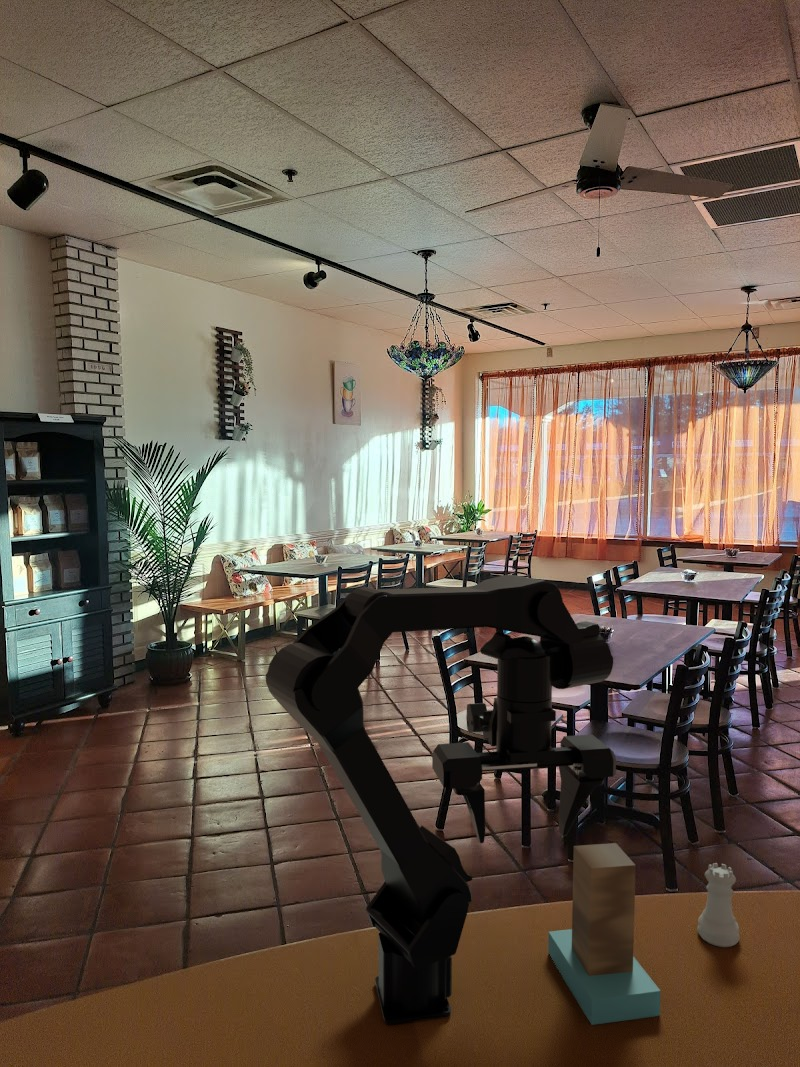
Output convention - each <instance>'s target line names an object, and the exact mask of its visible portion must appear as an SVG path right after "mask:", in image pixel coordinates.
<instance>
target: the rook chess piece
mask: <svg viewBox="0 0 800 1067" xmlns="http://www.w3.org/2000/svg"><path fill="white" fill-rule="evenodd" d="M707 868H708V869H706V871H705V872H704V878H706V880H707V881H708V884H707V885H706V886H705V888H706V891H707V898H706V904H705V908H704V909H703V910H702V913H701V914H700V915H699V917H698V919H697V923H698V926H697V927H696V928H697V933H698V934H699V936H700V937H701V938H702V939H703V940H704V941H705V942H707V943H708V944H710V945H713V946H714V947H719V948H732V947H734V946H735V945H737V943H738V942H739V941H740V940H741V938H740V934H739V932H740V927H739V923H738V922H737V921H736V917H735V916H734V914H733V904H732V896H733V894H734V890H733V889H732V887H733V885H735V883H736V882H737V878H736V876H735V875H734V873H733V868H732V867H731V866H729V867H727V865H726V864H724V863H721V866H720V867H719V864H718V863H717V862H715V863H712V864H710V863H709V864H708V867H707Z"/></svg>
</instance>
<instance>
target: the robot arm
mask: <svg viewBox="0 0 800 1067" xmlns="http://www.w3.org/2000/svg"><path fill="white" fill-rule="evenodd" d="M563 599H564V598H563V596H562V593H561V591H560V589H559V588H558V585H557V583H554V582H553V581H549V580H543V579H538V578H533V577H526V576H521V575H515V574H505V575H504V574H503V575H501V576H496V577H491V578H488V579H484V580H482V581H480V582H478V583H477V584H474V585H471V586H461V587H460V586H459V587H454V586H453V587H420V588H419V587H418V588H414V587H413V588H411V587H410V588H383V589H382V588H380V589H379V588H378V589H377V588H376V589H375V588H371V587H368V586H363V587H357V588H356V589H353V590H352V591H351V592H350V593H348V594H347V595H346V597H345V598H344V599H343V600H341V602H340V603H339V604H338V605H336V607H335V608H334V609H333V610H330V611H329V612H328V613H326V614H325V615H323V616H322V617H320V618H319V619H318V620H317V621H315V622H314V623H312V624H310V625H309V626H308V627H307V628H306V629H304V631H303V632H302V633H301V634H300V635H299V636H298V637H297V638H296V639H295V640H294V641H293V642H292V643H289V644H287V645H286V646H284V647H282V648H281V649H279V650H278V652H276V654H274V655H273V657H272V659H271V661H270V662H269V665H268V668H267V672H266V674H265V684H266V686H267V688H268V692H269V693H270V694H271V696H272V697H273V698H274V699H275V700H276V702H278V703H279V705H280V706H281V707H282V708H283V709H284V710H285V712H286V713H287V714H288V715H289V716H290V717H291V718H292V719H293V720H294V721H295V722H296V723H297V724H299V726H300V727H301V728H302V729H303V730H304V731H306V732H307V733H308V735H309V736H310V737H311V738H313V740H314V741H315V742H316V743H317V745H318V746H319V747H320V749H321V751H322V753H323V755H324V756H325V758H326V760H328V763H329V764H330V766H331V768H332V770H333V772H334V773H335V775H336V777H337V779H338V780H339V782H340V783H341V786H343V789H344V790H345V792H346V794H347V796H348V797H349V799H350V800H351V802H352V804H353V806H354V807H355V809H356V810H357V813H358V815H359V816H360V817H361V820H362V821H363V822H364V825H365V826H366V827H367V829H368V831H369V833H370V835H371V836H372V838H373V840H374V841H375V844H376V845H377V847H378V848H379V851H380V853H381V855H380V856H381V864H380V865H381V867H380V868H381V874H382V875H383V878H384V882H383V884H382V885H381V887H380V888H379V889H378V891H377V892H376V893H375V895H374V896H373V898H372V899H371V901H370V902H369V903H368V904H367V906H366V908H365V912H366V914H367V917H368V919H369V922H370V925H371V926H372V927H373V928H376V930H377V931H378V932H379V933H378V976H376V977H375V979H374V981H375V982H374V983H375V987H376V993H377V997H378V1001H379V1005H380V1008H381V1013H382V1014H381V1016H382V1019H383V1021H384V1022H383V1023H385V1024H387V1025H394V1024H400V1023H409V1022H417V1021H418V1022H419V1021H426V1020H432V1019H441V1018H448V1017H450V1016H451V1014H452V1013H451V1012H452V1008H451V1005H450V1002H449V1000H448V999H449V998H451V996H452V985H453V984H452V983H453V982H452V979H453V977H452V976H453V974H452V973H453V971H452V969H453V968H452V967H453V965H452V964H453V963H452V961H453V958H452V957H453V956H454V955H456V953H457V950H458V948H459V943H460V940H461V936H462V933H463V930H464V925H465V922H466V919H467V915H468V912H469V906H470V903H471V902H472V901H473V896H472V895H473V893H472V890H471V887H470V885H469V883H468V882H472V880H473V877H472V876H471V875H470V874H469V873H467V872H466V870H465V869H464V867H463V865H462V862H461V858H460V855H459V854H458V852H457V850H456V848H455V847H453V845H451V844H450V843H448V842H447V841H446V840H443V839H442V838H441V837H439V836H438V835H437V834H435V833H433V832H432V831H431V830H430V829H428V828H426V827H425V826H424V825H421V826H419V824H418V822H417V820H416V819H415V817H414V815H413V814H412V812H411V811H412V810H410V808H409V806H408V804H407V802H406V800H405V799H404V797H403V795H402V794H401V792H400V790H399V788H398V786H397V784H396V783H395V780H394V779H393V777H392V776H391V774H390V772H389V770H388V768H387V766H386V765H385V763H384V761H383V758H381V756H380V754H379V752H378V750H377V748H376V747H375V745H374V743H373V741H372V740H371V737H370V736H369V733H368V732H367V730H366V728H365V724H364V721H365V719H364V718H365V717H364V715H365V714H364V701H363V698H362V695H361V692H360V689H359V687H360V686H361V685H362V684H363V683H364V681H365V680H366V679H367V678H368V677H369V676H370V675H371V673H372V672H373V671H374V668H375V666H376V663H377V660H378V658H379V655H380V654H381V651H382V648H383V647H384V644H385V642H386V641H387V640H388V639H389V637H391V635H392V634H393V633H405V632H406V633H407V632H422V631H423V632H424V631H440V630H458V629H470V628H473V629H475V628H490V629H495V630H496V629H497V630H501V631H507V632H512V633H517V634H522V635H523V636H518V637H511V635H509V634H505V633H502V632H498V631H496V632H494V634H493V636H492V637H491V639H489V640H488V641H487V642H485V643H484V644H483V645H482V647H481V648H480V649H479V650H480V651H479V652H480V654H482V655H484V656H487V657H491V658H493V659H496V660H497V670H496V671H497V678H496V680H497V683H496V684H497V686H496V689H497V690H496V697H494V700H493V703H492V704H493V705H492V710H488V709H487V704H486V703H484V702H480V703H479V702H478V703H467V704H466V717H465V718H466V729H467V732H468V733H482V737H483V738H482V740H483V741H488V744H489V745H490V747H496V749H495V750H496V751H484V752H482V751H481V752H477V751H476V750H475V749H474V748H473V746H472V745H471V744H470V742H469V741H468V742H453V743H438V744H437V745H436V746H435V748H434V749H433V751H432V756H431V757H432V759H431V760H432V765H431V766H432V770H433V772H434V773H435V775H436V777H437V778H438V780H439V782H440V784H441V785H442V787H443V788H446V789H450V790H451V789H452V790H453V792H454V793H455V795H457V796H462V797H463V799H464V801H465V804H466V807H467V810H468V813H469V817H470V820H471V823H472V826H473V829H474V831H475V835H476V838H477V840H478V843H479V844H484V843H485V838H486V801H485V799H486V797H485V796H486V794H485V791H486V790H485V788H484V787H483V785H482V784H481V781H482V780H483V773H485V772H494V771H495V772H497V771H498V772H499V771H510V770H526V769H539V768H553V767H558V770H559V776H560V790H559V806H558V808H559V809H558V832H559V834H560V835H561V837H566V836H568V833H569V832H570V830H571V827H572V826H573V823H574V822H575V820H576V819H577V816H578V815H579V813H580V811H581V809H582V808H583V806H584V804H585V803H586V801H587V800H588V798H589V797H590V795H591V794H592V792H593V791H594V790H595V789H596V787H597V786H602V785H604V783H605V779H604V778H613V777H615V776H616V775H617V773H616V772H617V771H616V770H617V758H616V756H615V753H614V751H613V750H612V749H611V748H610V747H609V746H607V745H606V744H605V743H604V742H603V741H602V740H600V739H598V738H597V737H596V736H595V735H593V734H581V735H579V734H578V735H567V736H566V735H564V736H563V737H562V738H561V740H560V746H558V747H552V722H556V720H557V719H556V718H557V711H556V709H553V707H552V700H553V688H555V689H557V690H566V689H570V688H576V687H581V686H586V685H591V684H596V683H600V682H604V681H606V679H608V678H609V676H610V675H611V673H612V670H613V667H614V656H613V655H612V652H611V649H610V646H609V644H608V643H607V641H606V639H605V638H604V637H603V636H602V635H600V625H599V624H598V623H596V622H590V621H580V622H577V623H576V622H575V620H574V618H573V617H572V615H571V613H570V612H569V610H568V608H567V607H566V605H565V602H564V600H563ZM524 635H527V636H524ZM528 635H529V636H528ZM530 636H534V637H539V639H540V640H539V641H537V640H536V639H534V638H533V637H530ZM336 652H337V653H336ZM333 653H335V654H334V655H333Z"/></svg>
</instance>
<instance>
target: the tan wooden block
mask: <svg viewBox="0 0 800 1067" xmlns="http://www.w3.org/2000/svg"><path fill="white" fill-rule="evenodd" d="M572 860H573V861H572V862H573V866H572V867H573V868H572V874H573V875H572V907H571V908H572V909H571V910H572V912H571V913H572V915H571V929H572V949H573V951H574V952H575V954H576V956H577V957H578V959H579V961H580V962H581V964H582V966H583V967H584V969H585V971H586V972H587V974H588V976H593V975H604V974H614V973H624V972H633V956H634V942H635V939H634V938H635V936H634V935H635V907H636V906H635V904H636V903H635V901H636V872H637V871H636V868H637V867H636V866H637V865H636V864H635V862H633V861H632V859H631V858H630V857H629V856H628V855H627V854H626V852H625V851H623V850H622V848H621V847H620V845H618V843H616V842H611V843H597V844H596V843H595V844H583V845H573V859H572Z"/></svg>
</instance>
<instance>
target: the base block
mask: <svg viewBox="0 0 800 1067" xmlns="http://www.w3.org/2000/svg"><path fill="white" fill-rule="evenodd" d="M547 942H548V945H547V946H548V949H547V950H548V952H547V954H548V953H549V954H550V956H551V958H552V959H551V958H550V959H551V961H552V960H553V961H554V962H553V961H552V962H553V964H554V963H555V964H554V966H555V965H556V966H555V967H556V969H557V970H559V971H558V972H559V974H560V973H561V974H560V976H561V975H562V976H561V977H562V979H563V981H564V982H565V984H566V985H567V987H568V989H569V991H570V992H571V993H572V995H573V998H574V999H575V1000H576V1002H577V1003H578V1005H579V1007H580V1008H581V1010H582V1012H583V1013H584V1016H586V1018H587V1020H588V1021H589V1023H590V1025H591V1026H595V1025H602V1024H607V1023H608V1024H609V1023H610V1024H611V1023H617V1022H623V1021H630V1020H631V1021H632V1020H639V1019H645V1018H653V1017H660V1016H661V993H662V992H661V989H660V988H659V987H658V985H657V984H656V983H655V982H654V981H653V980H652V978H651V977H650V975H649V974H648V973H647V971H646V970H645V969H644V968H643V967H642V966H641V964H640V963H639V961H638V960H637V959H636V958H635V956H634V955H633V972H624V973H614V974H604V975H593V976H588V974H587V972H586V971H585V969H584V967H583V966H582V964H581V962H580V961H579V959H578V957H577V956H576V954H575V952H574V951H573V949H572V928H571V929H570V928H568V929H562V930H561V929H560V930H552V931H548V941H547ZM549 954H548V955H549ZM550 956H549V957H550Z"/></svg>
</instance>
